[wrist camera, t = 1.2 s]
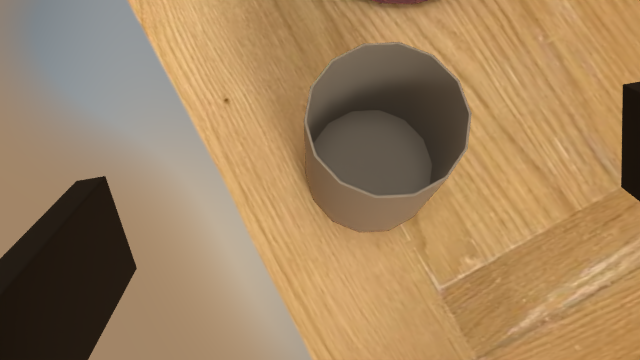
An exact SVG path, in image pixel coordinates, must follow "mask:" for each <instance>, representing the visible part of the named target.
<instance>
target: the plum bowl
mask: <svg viewBox="0 0 640 360" xmlns="http://www.w3.org/2000/svg"><path fill="white" fill-rule="evenodd" d="M372 1H376V2H379V3H392V4H416V3H420V2H423V1H427V0H372Z"/></svg>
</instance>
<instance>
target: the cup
mask: <svg viewBox="0 0 640 360" xmlns="http://www.w3.org/2000/svg"><path fill="white" fill-rule="evenodd" d="M470 123H471V111H470V108H469V105H468V103H467V100H466V97H465V95H464V92H463V89H462V87H461V84H460V81H459V80H458V79H457V78H456V77H455V76H454V75H453V74H452V73H451V72H450V71H449V70H448V69H447V68H446V67H445V66H444V65H443V64H442V63H441V62H440V61H439V60H438V59H437V58H436V57H435V56H434V55H432V54H429V53H427V52H424V51H421V50H419V49H416V48H414V47H411V46H408V45H406V44H403V43H400V42H391V43H368V44H362V45H360V46H358V47H356V48H354V49H352V50H350V51H348V52H346V53H344V54H342V55H340V56H338V57H336V58H334V59H332V60H331V61H330V62H329V64H328V65H327V66H326V68H325V69H324V70H323V71H322V73H321V74H320V75H319V77H318V78H317V79H316V81H315V82H314V83H313V84H312V86H311V87H310V92H309V97H308V103H307V108H306V113H305V118H304V137H305V163H306V176H307V179H308V183H309V186H310V189H311V193H312V196H313V200H314V201H315V202H316V203H317V204H318V206H319V207H320V208H321V209H322V210H323V211H324V212H325V213H326V214H327V215H328V217H329V218H330V219H331V220H332V221H333V222H336V223H338V224H341V225H343V226H346V227H348V228H350V229H353V230H355V231H358V232H374V231H389V230H391V229H392V228H394V227H396V226H398V225H400V224H402V223H403V222H405V221H407V220H409V219H411V218H412V217H414V216H415V214H416V213H417V212H418V211H419V210H420V209H421V208H422V206H423V205H424V204H425V203H426V202H427V201H428V200H429V199H430V197H431V196H432V195H433V194H434V193H435V192H436V191H437V190H438V188H439V187H440V186H441V185H442V184H443V183H444V182H445V181H446V179H447V178H448V177H449V175H450V174H451V172H452V171H453V169H454V168H455V166H456V165H457V163H458V162H459V161H460V159H461V158H462V156H463V155H464V153H465V152H466V150H467V149H468V140H469V131H470Z"/></svg>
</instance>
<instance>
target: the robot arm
mask: <svg viewBox="0 0 640 360" xmlns="http://www.w3.org/2000/svg"><path fill="white" fill-rule="evenodd" d="M621 187H622V188H623V189H625V190H626V191H627V192H628V193H630V194H631V195H632V196H634V197H635V198H636V199H637V200H639V201H640V82H635V83H630V84H624V85H623V111H622V178H621ZM135 270H136V265H135V262H134V259H133V256H132V253H131V250H130V247H129V244H128V242H127V239H126V235H125V233H124V230H123V227H122V224H121V221H120V218H119V215H118V212H117V209H116V206H115V203H114V200H113V198H112V195H111V192H110V189H109V186H108V183H107V180H106V177H104V176H103V177H98V178H92V179H86V180H80V181H76V182H75V183H74V184H73V185H72V186H71V187H70V188H69V189H68V190H67V191H66V192H65V193H64V194H63V195H62V196H61V197H60V198H59V200H57V202H56V203H55V204H54V205H53V206H52V207H51V208H50V209H49V210H48V211H47V212H46V213H45V214H44V215H43V216H42V217H41V218H40V219H39V220H38V221H37V222H36V223H35V224H34V225H33V226H32V227H31V228H30V229H29V230H28V231H27V232H26V233H25V234H24V235H23V236H22V237H21V238H20V239H19V240H18V241H17V242H16V243H15V244H14V246H12V247H11V249H9V250H8V252H6V253H5V254H4V255H3V257H2V258H1V259H0V360H88V359H89V357H90V355H91V353H92V351H93V349H94V347H95V345H96V344H97V342H98V339H99V338H100V336H101V334H102V332H103V330H104V329H105V327H106V325H107V323H108V321H109V319H110V317H111V315H112V314H113V312H114V310H115V308H116V306H117V304H118V302H119V300H120V298H121V297H122V295H123V293H124V291H125V289H126V287H127V285H128V283H129V282H130V279H131V278H132V276H133V274H134V272H135Z"/></svg>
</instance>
